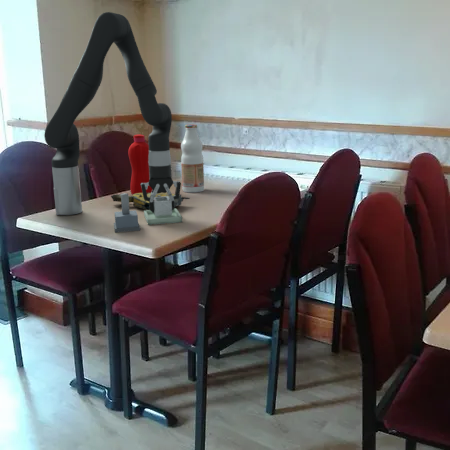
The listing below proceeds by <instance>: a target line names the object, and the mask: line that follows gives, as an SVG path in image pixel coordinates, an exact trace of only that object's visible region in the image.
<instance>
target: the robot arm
mask: <svg viewBox="0 0 450 450" xmlns="http://www.w3.org/2000/svg"><path fill="white" fill-rule="evenodd" d="M113 44H115V46H116V47H117V48H118V50H119V52H120V53H121V55H122V58H123V60H124V65H125V72H126V75H127V80H128V82H129V84H130V86H131V88H132V90H133V92H134V94H135V95H136V98H137V102H138V106H139V110H140V113H141V116H142V118H143V120H144V121H145V123H147V124H148V125H149V126H152V131H151V132H150V133H149V135H148V139H147V140H148V141H147V143H148V144H149V161H148V163H149V177H150V179H149V182H147V183H141V188H142V193H143V197H144V200H145V201H149V207H150V211H152V213H154V202H153V200H154V198H155V196H156V193H167V194H168V196H169V198H170V199H171V201H172V210H174V208H175V207H174V200H175V199H179V195H180V193H181V188H182V181H180V180H173V179H172V158H171V157H172V156H171V150H170V149H171V148H170V135H171V130H172V129H171V128H172V120H173V116H172V115H173V114H172V111H171V108H170V107H169V106H168V104H166V103H161V102H159V103H158V101H157V98H156V95H157V94H158V93H157V90H158V89H157V87H156V85H155V83H154V81H153V79H152V77H151V76H150V73H149V71H148V69H147V67H146V66H145V63H144V59H143V58H142V55H141V53H140V50H139V47H138V44H137V41H136V39H135V36H134V32H133V29H132V27H131V24H130V21H129V20H128V19H127V17H126V16H125V15H122V14H121V13H120V14H119V13H116V12H111V11H106V12H103V13H101V14H100V15H98V17H97V18H96V21H95V22H94V25H93V27H92V30H91V33H90V37H89V38H88V42H87V44H86V48H85V50H84V52H83V55H82V57H81V58H80V61H79V63H78V66H77V67H76V69H75V71H74V73H73V74H72V77H71V79H70V81H69V84H68V86H67V89H66V91H65V92H64V94H63V95H62V99H61V101H60V103H59V105H58V107H57V109H56V111H55V112H54V114H53V115H52V117H51V119H50V120H49V122H48V124H47V125H46V127H45V130H44V140H45V143H46V144H47V146H48V147H49V148H52V149H56V153H55V155H54V156H53V157H52V159H51V168H52V170H51V171H52V172H51V173H52V181H53V195H54V204H55V205H54V206H55V215H56V216H57V215H59V216H60V215H61V216H71V215H76V214H80V213H82V212H83V204H82V192H81V183H80V171H79V159H80V153H81V152H80V136H79V135H80V134H79V130H78V128H77V126H76V125H75V123H74V122H75V121H76V119H77V118H78V116H79V115H80V114H81V113H82V111H84V110H85V109H86V108H87V107H88V106H89V104H90V103H91V102H92V101H93V99H94V98H95V96H96V94H97V93H98V90H99V88H100V86H101V84H102V81H103V77H104V76H103V75H104V63H105V59H106V56H107V54H108V52H109V50H110V48H111V46H112V45H113ZM173 185H174V187H175V190H174V194H175V195H174V196H172V194H173V193H172V192H171V190H170V189H171V187H172V186H173ZM148 186H150V187H151V188H152V192H151V195H150V197H147V193H146V189H147V188H148Z"/></svg>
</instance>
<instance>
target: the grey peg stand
mask: <svg viewBox="0 0 450 450" xmlns="http://www.w3.org/2000/svg"><path fill="white" fill-rule="evenodd" d="M120 194H121V202H120V203H121V211H114V222H113V228H114V233H124V232H125V233H127V232H135V231H137V232H138V231H141V227H140V223H139V216H138V213H137V210H136V209H135V210H130V203H129V196H130V195H129V193H126V192H124V193H120Z"/></svg>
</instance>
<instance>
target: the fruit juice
mask: <svg viewBox="0 0 450 450" xmlns="http://www.w3.org/2000/svg"><path fill="white" fill-rule="evenodd" d="M184 128H185V132H184V135H183V136H184V137H183V139H182V141H181V143H180V149H181V158H180V163H181V165H180V166H181V188H182V191H183V192H185V193H192V194H193V193H200V192H203V191H204V190H205V177H204V175H205V173H204V172H205V171H204V169H205V168H204V157H203V153H202V152H203V148H204V147H203V142H202V141H201V139H200V137H199V134H198V130H197V129H198V125H197V124H185V127H184Z"/></svg>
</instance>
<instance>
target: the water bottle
mask: <svg viewBox="0 0 450 450" xmlns="http://www.w3.org/2000/svg"><path fill="white" fill-rule="evenodd" d="M132 138H133V143H131V145H129V148H128V151H127V153H128V158H129V163H130V167H131V178H130V184H129V186H130V187H129V188H130V194H131V196H132V195H133V194H135V193H142V188H141V183H147V182H149V179H150V177H149V163H148V161H149V144H148V143H149V142H147V140H146V139H145V135H144V134H140V133H139V134H138V133H137V134H134V135H133V136H132ZM151 192H152V188H151V187H150V186H148V188H147V189H146V193H151Z"/></svg>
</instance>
